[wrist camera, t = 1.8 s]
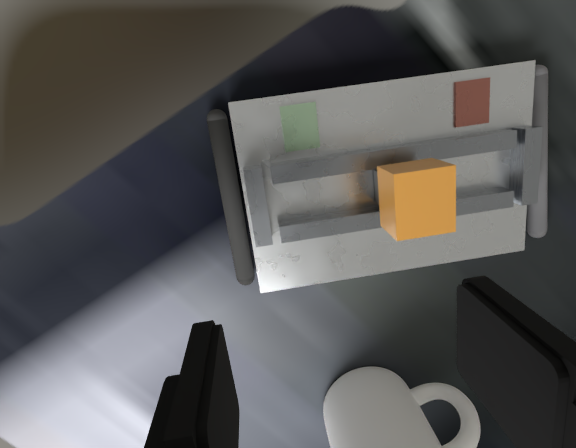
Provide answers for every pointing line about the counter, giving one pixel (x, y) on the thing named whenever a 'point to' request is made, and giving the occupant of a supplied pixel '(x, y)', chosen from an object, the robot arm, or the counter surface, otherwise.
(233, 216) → the grey bar
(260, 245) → the slider switch board
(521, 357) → the robot arm
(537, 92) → the grey rounded rod
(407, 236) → the orange block
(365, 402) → the mug
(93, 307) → the counter surface
